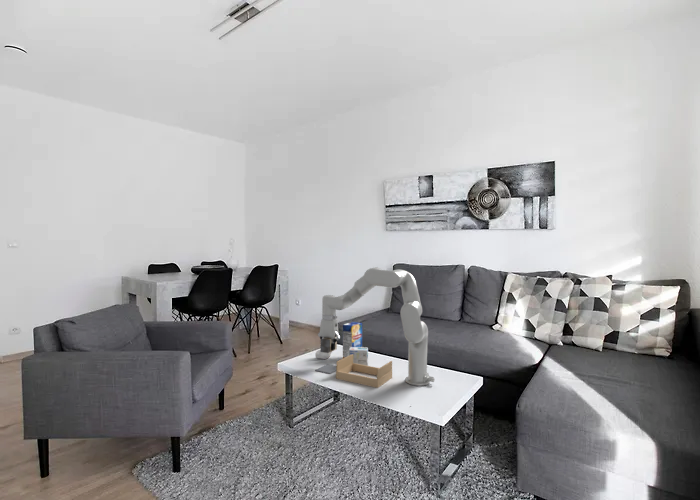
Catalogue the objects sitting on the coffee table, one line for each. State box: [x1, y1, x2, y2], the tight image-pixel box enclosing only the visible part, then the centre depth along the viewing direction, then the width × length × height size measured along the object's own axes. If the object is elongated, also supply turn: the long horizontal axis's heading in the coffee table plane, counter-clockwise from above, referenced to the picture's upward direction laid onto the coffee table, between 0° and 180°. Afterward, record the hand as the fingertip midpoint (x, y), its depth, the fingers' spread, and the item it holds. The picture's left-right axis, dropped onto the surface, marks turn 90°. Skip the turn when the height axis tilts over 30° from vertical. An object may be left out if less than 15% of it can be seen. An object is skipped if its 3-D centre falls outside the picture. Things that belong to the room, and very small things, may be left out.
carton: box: [335, 354, 393, 389], centre depth 211 cm, size 25×17×9 cm
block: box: [319, 337, 338, 353], centre depth 224 cm, size 5×9×7 cm, turn 149°
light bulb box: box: [349, 346, 369, 366], centre depth 230 cm, size 11×7×11 cm, turn 84°
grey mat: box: [315, 363, 336, 375], centre depth 225 cm, size 10×12×1 cm
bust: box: [315, 349, 333, 360], centre depth 245 cm, size 12×8×11 cm
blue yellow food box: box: [342, 321, 363, 359], centre depth 243 cm, size 7×11×22 cm, turn 143°
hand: (328, 348), depth 224 cm, fingers closed on block, 5 cm apart
